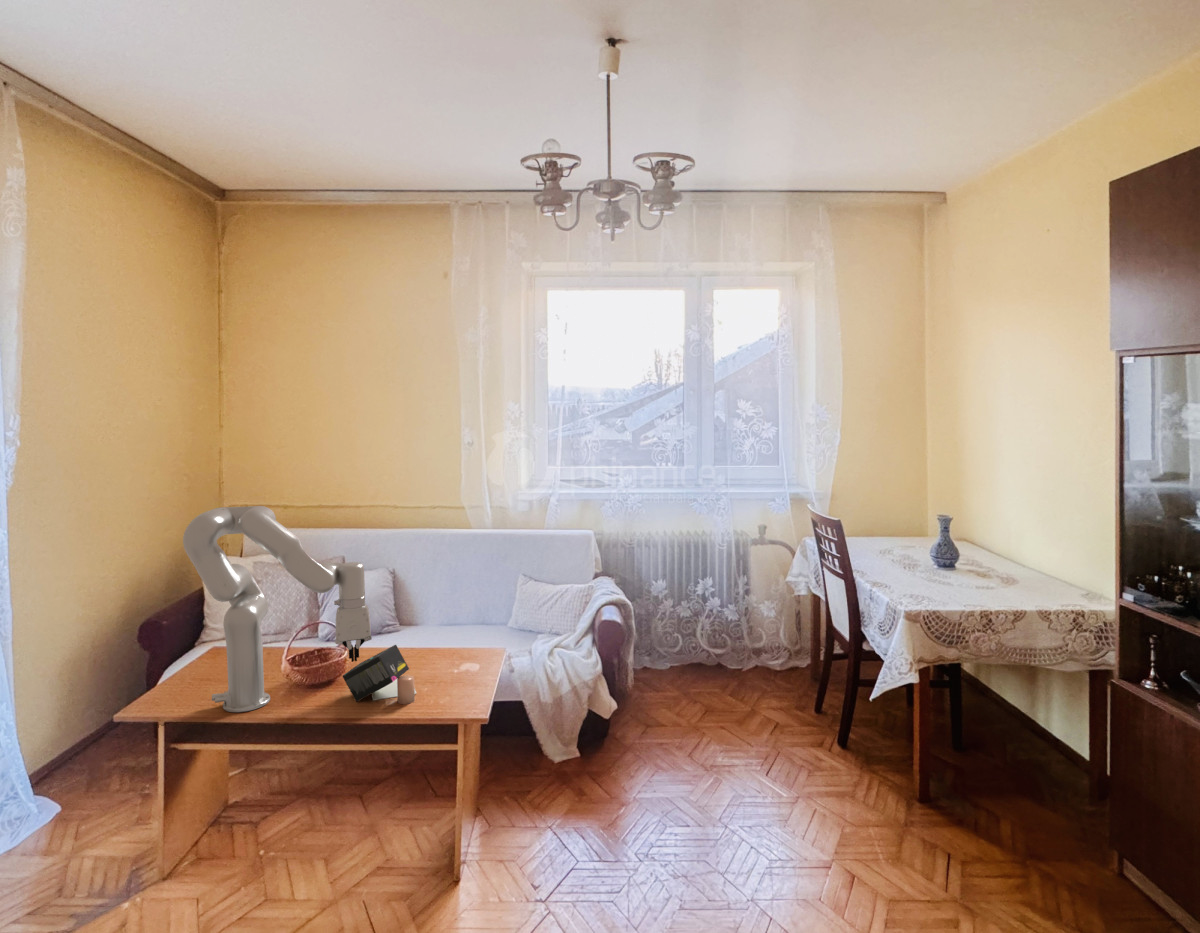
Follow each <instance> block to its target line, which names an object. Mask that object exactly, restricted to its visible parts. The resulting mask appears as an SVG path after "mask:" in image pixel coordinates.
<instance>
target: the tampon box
mask: <svg viewBox="0 0 1200 933" xmlns="http://www.w3.org/2000/svg"><path fill="white" fill-rule="evenodd" d="M409 670H410V668H409V666H408V664H407V662H406V660H405V658H404V656H403V655H402V652H401V651H400V650H399V647H398V646H397V644H393V645H391V646H390V647H388V648H386V649H384V650H382V651H380V652H379V653H377V654H375V655H373V656H371V657H369V658H367V659H366V660H363V661H361V662H359V664H357V665H355V666H354V667H353V668H351V669H350V670H349V671H347V672H346V673H344V674H343V675H342V679H343V680H344V682H345V684H346V686H347V688H348V689H349V691H350V693H351V695H352V698H354V701H355V702H359V701H361V700H362V699H364V698H366V697H368V696H370V695H372V693H374V692H376V691H378V690H379V689H381V688H383V687H385V686H387V685H389V684H390V683H392V682H393V681H395V680H396V679H397V678H399V677H401V676H403V675H404V674H405V673H406V672H407V671H409Z"/></svg>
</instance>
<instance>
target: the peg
mask: <svg viewBox="0 0 1200 933" xmlns="http://www.w3.org/2000/svg"><path fill="white" fill-rule="evenodd" d="M414 687H415V676H414V675H408V674H407V675H401V676H400V677H399V678H398V679H397V695H398V697H397V703H398V704H400V705H410V704H412V703H414V702H415V695H416V694H415V691H414Z"/></svg>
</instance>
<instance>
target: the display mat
mask: <svg viewBox="0 0 1200 933" xmlns="http://www.w3.org/2000/svg"><path fill="white" fill-rule="evenodd" d="M397 679H398V678H397ZM397 679H396V680H395V681H393V682H392V683H390V684H389V685H387V686H385V687H383V688H381V689H379V690H378V691H376V692H374V693H372V694H371V697H372V701H378V700H387V699H392V698H398V695H397ZM414 691H415V695H417V691H416V687H415V686H414Z"/></svg>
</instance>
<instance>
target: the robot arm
mask: <svg viewBox="0 0 1200 933" xmlns="http://www.w3.org/2000/svg"><path fill="white" fill-rule="evenodd" d="M235 534H236V535H238V534H240V535H241V534H243V535H244V536H245V537H247V538H248V539H249V540H251V541H252V542H254V543H255V544H257V545H258V546H259V547H260V548H261V549H264V551H266V552H267V553H268V554H270V555H271V556H272V557H273V558H275V559H276V560H277V561H278V562H279V564H280V565H281V566H282V567H283V568H285V570H286V571H287V572H288V573H289V574H290V575H291V576H292V577H293V578H294V579H295V580H296V581H298V582H299V583H301V585H304V586H305V587H306V588H307V589H308V590H310V591H312V592H314V593H317V594H324V593H328V592H330V591H331V590H332V589H333V587H334V586H335V585H337V586H338V597H339V598H338V599H336V600H334V601H333V602H334V606H335V605H336V606H338V607H337V609H336V613H335V641H334V644H336V645H343V646H344V647H345V648H346V649H347V650H348V659H349V660H350V659H351V663H352V662H358V658H360V647H361V646H362V645H363V644H365V642H369V641H371V640H372V638H373V636H372V635H371V631H372V629H371V628H372V627H371V616H370V610H369V605H368V604H366V593H365V592H366V587H365V584H366V583H365V566H364V564H363V563H361V562H358V561H357V562H356V561H352V562H345V563H343V562H342V563H341V562H331V561H329V562H328V561H327V562H323V563H319V562H318V561H316V560H315V559H313V558H312V557H311V556H310V555H309V554H308V553H307V552H306V550H305V549H304V548H303V545H302V542H301V540H300V538H299V537H298V536H297V535H296V534H294V533H293V532H292V531H290V530H289V529H288V528H286V526H284V525H283V524H282V523H280V522H279V521H277V517H276V514H275V513H274V510H272V509H271V508H269V507H267V506H264V505H249V506H224V507H217V508H213V509H210V510H206V511H204V512H202V513H199V515H197V516H196V517H194V518H193V519H192V520H191V521H190V522H189V524H187V526H186V529H185V530H184V532H183V535H182V545H183V549H184V551H185V553H186V555H187V557H188V558H189V560H190V562H191V563H192V565H193V566H194V568H195V570H196V572H197V574H198V576H199V577H200V579H201V581H202V582H203V584H204V586H205V587H206V589H207V591H208V592H209V594H210V595H211V597H212V598H213V599H214V600H216V601H218V602H220V603H221V602H222V603H223V602H224V603H225V602H229V604H230V607H229V608H228V609H227V611H226V612H225V614H224V617H223V621H222V622H223V632H224V635H225V646H226V661H227V663H226V664H227V686H228V687H227V691H224V692H222V693H213V694H211V701H212V702H213V701H214V703H215V704H216V703H221V702H223V704H222V709H223V710H224V711H226V712H230V713H243V712H244V713H245V712H250V711H254V710H256V709H259V708H262V707H264V706H266V705H267V704H269V702H270V701H271V695H270V694H269V693H267V692H265V679H264V676H265V675H264V648H263V637H262V631H261V622H262V621H263V620H264V618H266V616H267V615H268V612H269V604H268V601H267V598H266V596H265V595H264V593H263V591H262V590H261V588H260V586H259V585H258V583H257V581H256V579H255V578H254V576H253V574H252V573H251V571H250V570H249V569H248V568H246V567H245V566H244V565H243V564H242V565H241V564H240V563H231V561H230V559H229V558H228V556H227V554H226V553H225V551H224V549H222V548H221V546H220V545H219V544H218V540H219V538H221V537H223V536H225V535H235ZM352 641H355V644H354V645H353V644H352Z"/></svg>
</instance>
